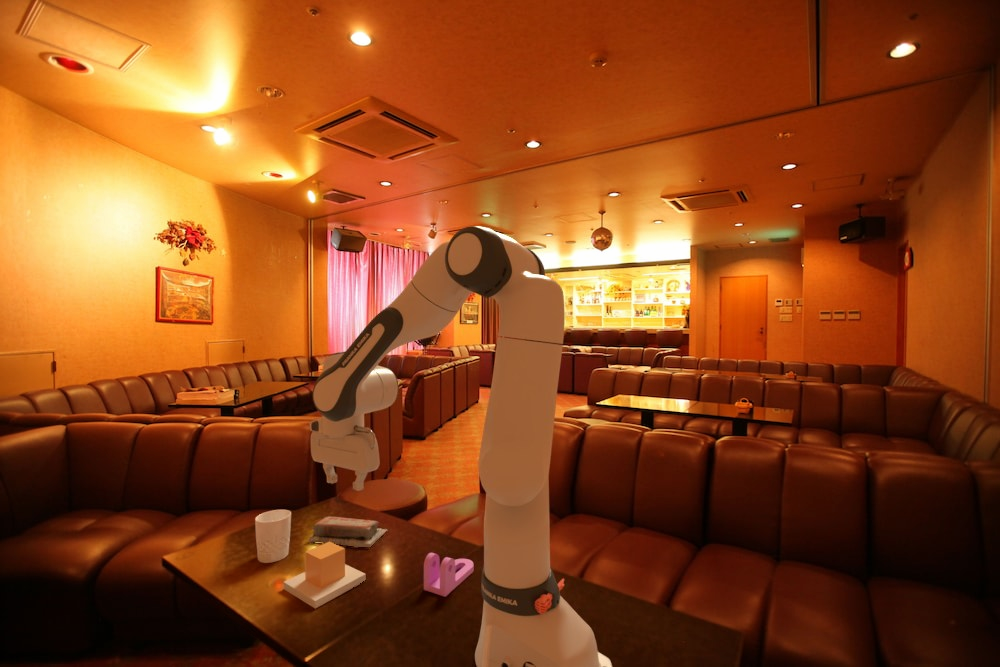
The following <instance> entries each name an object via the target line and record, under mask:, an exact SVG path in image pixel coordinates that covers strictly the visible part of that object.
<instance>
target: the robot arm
mask: <svg viewBox="0 0 1000 667" xmlns="http://www.w3.org/2000/svg"><path fill="white" fill-rule="evenodd" d="M472 294H476V295H479V296H481V297H482V298H485V299H490V298H491V299H493V300H494V301H495V302H496V303H497V305H498V307H499V311H500V316H499V317H500V318H499V325H498V326H499V327H498V332H497V340H496V348H495V355H494V356H495V357H494V364H493V373H492V380H491V386H490V392H489V397H488V401H487V402H488V403H487V407H486V412H485V420H484V424H483V430H482V436H481V443H480V450H479V455H478V474H479V479H480V483H481V486H482V488H483V490H484V491H485V503H484V504H485V505H484V506H485V507H484V508H485V509H484V518H483V562H484V563H483V566H482V570H481V596H482V598H483V604H482V605H483V606H482V619H481V624H480V625H481V626H480V632H479V637H478V640H477V641H478V642H477V645H476V647H475V653H474V661H475V665H476V667H613V665H612V662H611V659H610V658H609V657H607V656H606V655H604V654H602V653H601V652H599V650H598V644H597V640H596V638H595V634H594V631H593V629H592V627H590V625H589V624H588V623H587V622H586V621H585V620H584V619H583V618H582V617H581V616H580V615H579V614H578V613H577V612H576V611H575V610H574V609H573V607H572V606H571V605H570V604H569V603H568V602H567V601H566V600H565V599H564V598H563V596H561V592H560V591H562V589H563V588H564V587H565V583H564V582H565V578H564V577H563V578H562V579H561V580H560V581H559V582H558V583H557V581H556V578H555V575H554V572H553V569H552V568H551V551H550V550H551V549H550V548H551V543H550V541H551V539H550V536H551V535H550V532H551V530H550V527H551V526H550V487H549V486H550V485H549V477H550V476H549V475H550V465H551V456H552V447H553V438H554V426H555V418H556V416H555V415H556V407H557V406H556V405H557V394H558V386H559V380H560V379H559V377H560V369H561V363H562V354H563V346H564V338H565V337H564V336H565V319H566V318H565V315H566V314H565V297H564V292H563V289H562V287H561V285H560V284H559V283H558V282H557V281H556V280H554V279H552V278H550V277H549V276H546V271H545V266H544V264H543V261H541V259H540V257H539V256H538V255H537V254H536V253H535V252H534V251H533V250H531V249H530V248H528V247H525V246H523V245H522V244H521V243H519V242H518V241H517V240H515V239H514V238H512V237H510V236H508V235H506V234H503V233H500V232H496V231H495V230H493V229H491V228H490V227H485V226H478V225H477V226H474V225H472V226H471V225H470V226H466V227H464V228H461V229H459V230H458V231H456V233H455V234H454V235H453V236H452V237H451V238H450V240H449V241H445V242H443V243H441V244H439V246H437V247H436V248H435V249H434V251H432V252H431V253H430V255H429V256H428V257H427V258H426V259H425V260H424V261H423V263H422V264H421V265H420V266H419V268H418V269H417V271H416V272H415V274H414V275H413V277H412V278H411V280H410V281H409V283H407V285H406V286H405V287H404V289H403V290H402V291H401V292H400V293H399V295H398V296H396V298H395V299H394V300H393V301H392V302H391V303H389V305H388V306H387V307H385V308H384V309H382V310H381V311H379V313H378V314H376V315H375V316H374V317H373V318H372V320H371V321H369V322H368V324H367V325H366V326H365V327H364V328H363V330H362V331H361V332H360V333H359V334H358V336H357V337H356V338H355V339H354V340H353V341H352V343H351V344H350V346H349V347H348V348H347V349H346V350H345V351H342V352H341V351H340V352H334V353H331V354H329V355H327V356H326V357H325V359H324V361H323V366H322V369H321V370H322V371H321V374H320V375H319V376H318V378H317V379H316V381H315V383H314V386H313V389H312V392H311V393H312V396H311V397H312V402H313V405H314V407H315V408H316V411H318V413H320V415H321V417H319V418H317V419H314V420H311V421H310V422H309V430H310V432H311V434H310V455H311V457H312V460H313V461H314V462H317V463H320V464H321V463H322V468H323V471H324V473H325V475H326V483H328V484H331V485H333V484H335V483H336V484H337V482H338V474H337V473H336V472H335V471H336V470H335V467H339V468H342V469H346V470H351V471H354V474H355V476H356V478H355V481H352V490H353V491H357V492H359V491H362V490H364V488H365V487H364V486H365V484H364V483H365V482H364V481H365V480H366V478H367V476H368V473H370V472H373V471H376V470H378V469H379V466H380V464H381V462H380V461H381V460H380V452H379V445H378V440H377V438H376V434H375V433H374V432H373V430H372V429H371V427H368V426H366V427H365V414H369V413H373V412H377V411H382V410H385V409H387V408H389V407H392V406H393V405H394V404H395V402H396V400H397V399H398V396H399V393H400V392H399V391H400V390H399V389H400V386H399V380H398V377H397V376H396V374H395V373H394V372H393V371H392V369H390V368H389V367H385V366H381V365H379V364H380V363H381V361H383V359H384V358H385V356H387V355H388V354H389V353H390V352H392V351H394V350H396V349H397V348H399V347H401V346H404V345H406V344H409V343H413V342H416V341H420V340H424V339H427V338H431V337H433V336H436V335H439V333H441V331H443V330H445V328H446V327H448V325H450V323H452V321H453V320H454V318H455V317H456V316H457V315H458V313H459V311H460V310H461V308H463V306H464V305H465V303H466V301H467V300H468V298H469V297H470V296H471V295H472Z"/></svg>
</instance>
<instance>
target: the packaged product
mask: <svg viewBox="0 0 1000 667" xmlns="http://www.w3.org/2000/svg"><path fill="white" fill-rule="evenodd" d="M379 525H380V522H379V521H377V520H370V519H358V518H350V517H348V518H347V517H340V516H339V517H338V516H324V518H322V519H320V520H318V522H316V523H315V524H314V525H313V527H312V530H313V533H312V536H309V539H308V543H309V542H323V543H327V542H332V543H335V544H341V545H348V546H354V547H353V548H358V547H371V546H372V545H373V544H374V543H375V542H376V541H377V540H378V539H379V538H380V537H381V536H382V535H383V534H384V533H385V532H386V531H387V532H388V528H381V527H380V528H378V526H379ZM378 541H379V540H378ZM378 541H377V542H378ZM377 542H376V543H377ZM376 543H375V544H376ZM375 544H374V545H375ZM374 545H373V546H374ZM373 546H372V547H373ZM372 547H371V548H372Z"/></svg>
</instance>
